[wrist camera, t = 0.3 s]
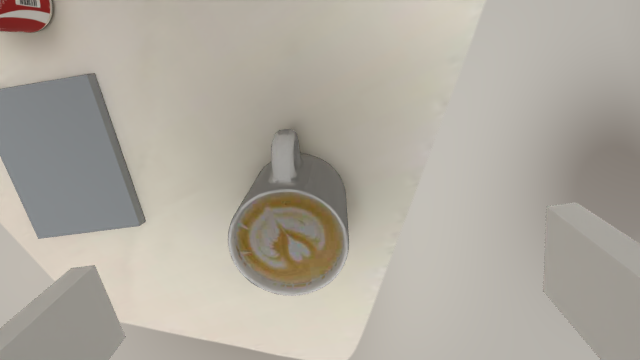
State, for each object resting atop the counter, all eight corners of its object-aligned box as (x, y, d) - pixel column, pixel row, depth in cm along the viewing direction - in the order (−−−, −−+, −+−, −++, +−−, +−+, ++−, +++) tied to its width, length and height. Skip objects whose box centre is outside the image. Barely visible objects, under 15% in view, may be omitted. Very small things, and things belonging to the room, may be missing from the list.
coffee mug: (338, 244, 41) (339, 302, 32) (250, 233, 41) (225, 288, 32) (357, 126, 37) (365, 154, 27) (258, 114, 37) (231, 137, 27)
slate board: (-18, 92, 37) (-29, 93, 36) (94, 73, 36) (86, 74, 35) (46, 233, 42) (38, 238, 41) (145, 220, 41) (140, 225, 40)
